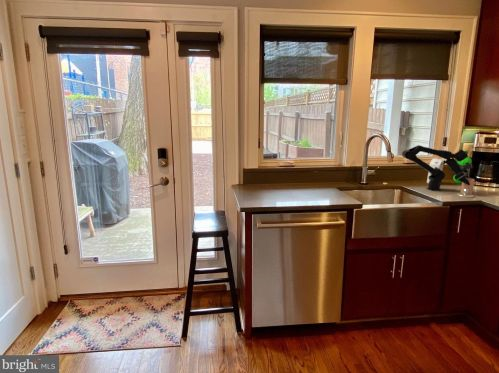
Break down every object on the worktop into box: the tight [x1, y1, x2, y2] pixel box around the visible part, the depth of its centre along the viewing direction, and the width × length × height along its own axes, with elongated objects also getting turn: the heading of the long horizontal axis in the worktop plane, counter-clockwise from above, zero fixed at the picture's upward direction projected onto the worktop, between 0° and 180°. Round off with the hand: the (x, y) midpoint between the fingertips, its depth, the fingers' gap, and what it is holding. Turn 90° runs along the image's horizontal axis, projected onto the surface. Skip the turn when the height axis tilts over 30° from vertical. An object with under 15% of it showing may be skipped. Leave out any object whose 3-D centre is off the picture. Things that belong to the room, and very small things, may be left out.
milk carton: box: [426, 158, 444, 184], centre depth 251 cm, size 7×7×19 cm
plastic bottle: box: [452, 150, 472, 185], centre depth 254 cm, size 10×10×25 cm
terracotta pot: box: [459, 177, 476, 195], centre depth 223 cm, size 6×6×10 cm
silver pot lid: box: [456, 188, 475, 199], centre depth 217 cm, size 10×10×5 cm
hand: (470, 184), depth 222 cm, fingers closed on terracotta pot, 6 cm apart
